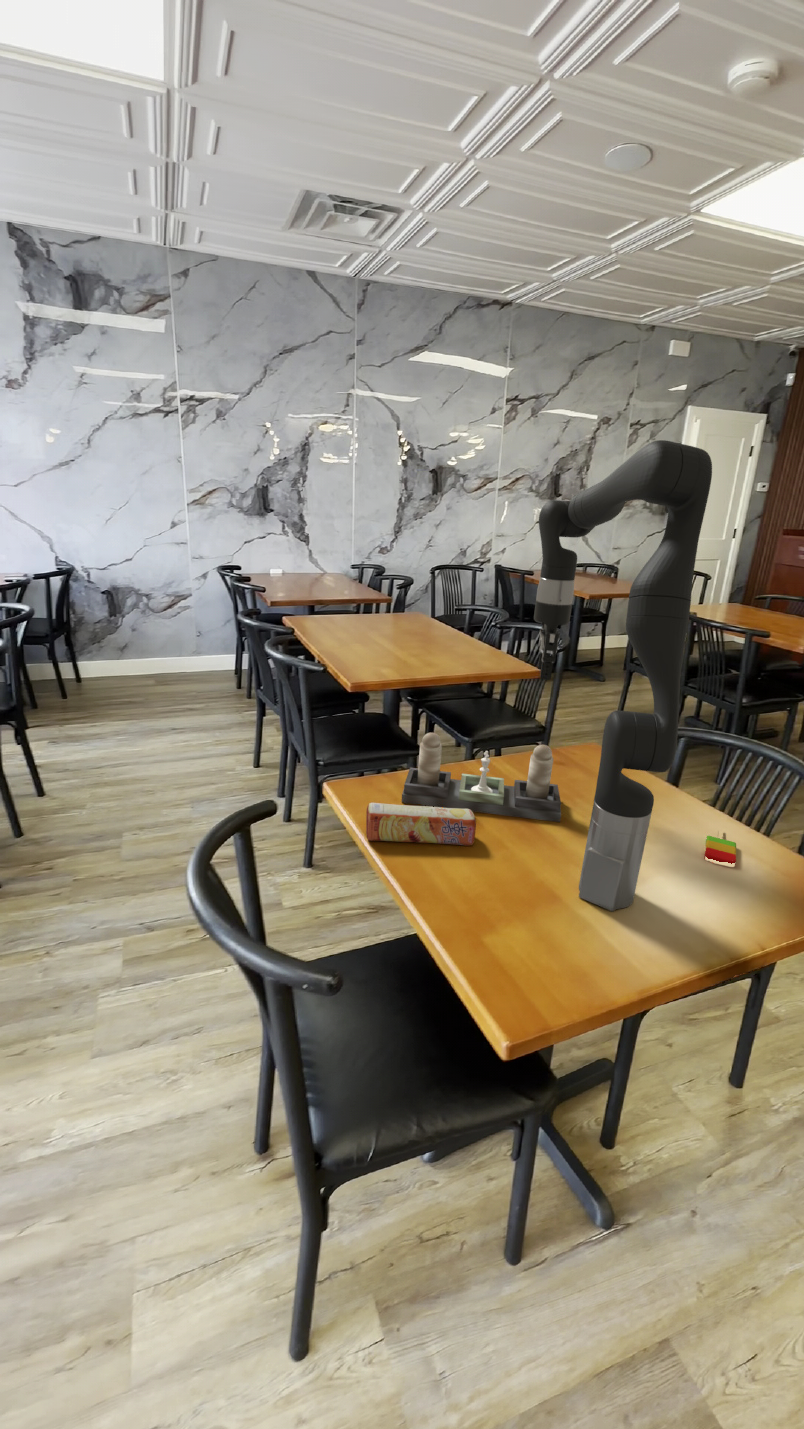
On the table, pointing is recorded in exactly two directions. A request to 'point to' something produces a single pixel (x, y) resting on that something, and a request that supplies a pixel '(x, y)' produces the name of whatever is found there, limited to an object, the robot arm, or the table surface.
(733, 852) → the popsicle
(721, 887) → the table surface
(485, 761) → the chess piece
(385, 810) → the snack package
